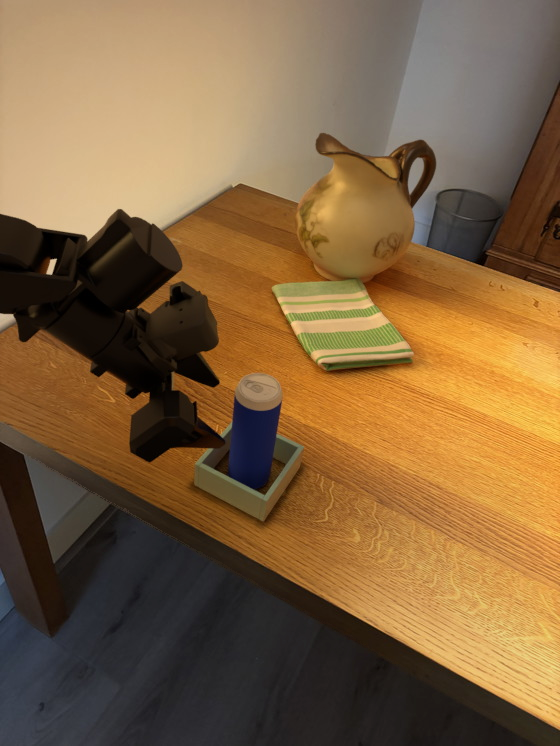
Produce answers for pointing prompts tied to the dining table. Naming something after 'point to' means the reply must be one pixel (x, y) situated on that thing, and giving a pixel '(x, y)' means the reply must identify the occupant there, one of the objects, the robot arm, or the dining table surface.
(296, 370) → the dining table surface
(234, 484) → the tray
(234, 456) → the beverage can
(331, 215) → the pitcher
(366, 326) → the dish towel
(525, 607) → the dining table surface
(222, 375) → the dining table surface
